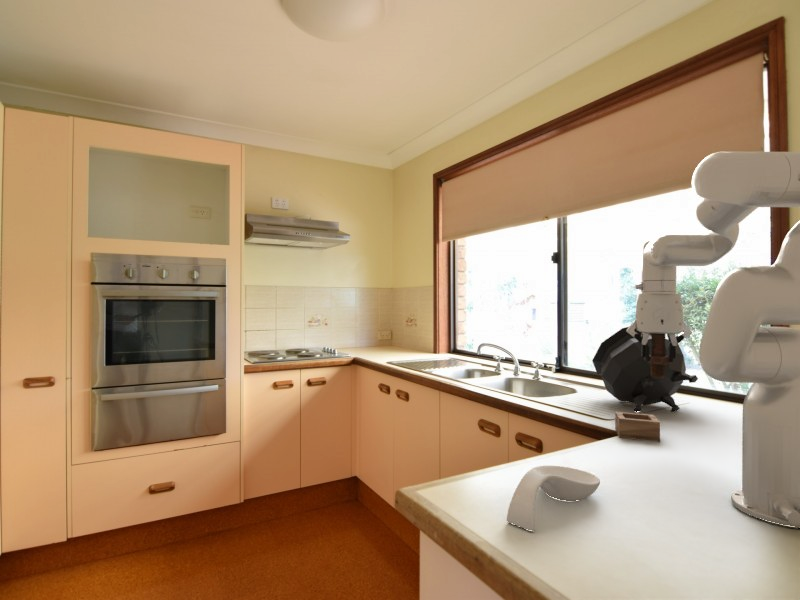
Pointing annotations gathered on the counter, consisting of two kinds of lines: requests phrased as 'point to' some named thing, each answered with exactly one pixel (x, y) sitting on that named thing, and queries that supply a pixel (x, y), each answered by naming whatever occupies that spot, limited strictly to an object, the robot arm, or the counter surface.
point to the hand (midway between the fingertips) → (658, 360)
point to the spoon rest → (548, 490)
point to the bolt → (658, 355)
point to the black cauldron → (638, 371)
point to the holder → (637, 426)
